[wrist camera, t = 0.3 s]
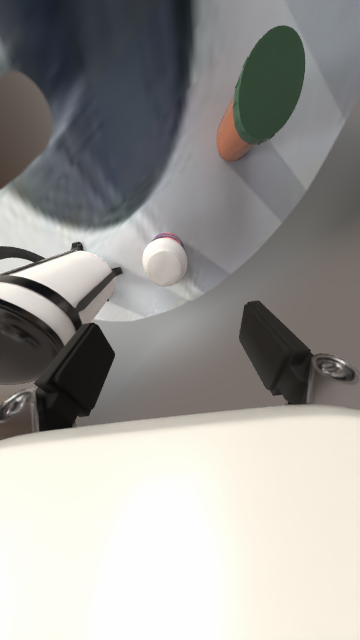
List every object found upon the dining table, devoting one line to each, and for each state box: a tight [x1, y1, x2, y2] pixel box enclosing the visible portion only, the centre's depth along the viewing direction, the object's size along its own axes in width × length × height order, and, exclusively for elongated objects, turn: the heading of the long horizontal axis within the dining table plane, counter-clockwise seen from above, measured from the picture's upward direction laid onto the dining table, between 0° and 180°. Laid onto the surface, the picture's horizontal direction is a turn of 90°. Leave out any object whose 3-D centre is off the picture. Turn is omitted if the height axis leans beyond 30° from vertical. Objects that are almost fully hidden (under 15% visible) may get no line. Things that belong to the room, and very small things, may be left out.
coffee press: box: [0, 242, 123, 385], centre depth 24 cm, size 17×16×30 cm
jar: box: [217, 96, 255, 162], centre depth 20 cm, size 6×6×10 cm
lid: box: [232, 26, 305, 145], centre depth 16 cm, size 7×7×2 cm
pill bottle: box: [142, 233, 188, 286], centre depth 28 cm, size 8×8×14 cm
